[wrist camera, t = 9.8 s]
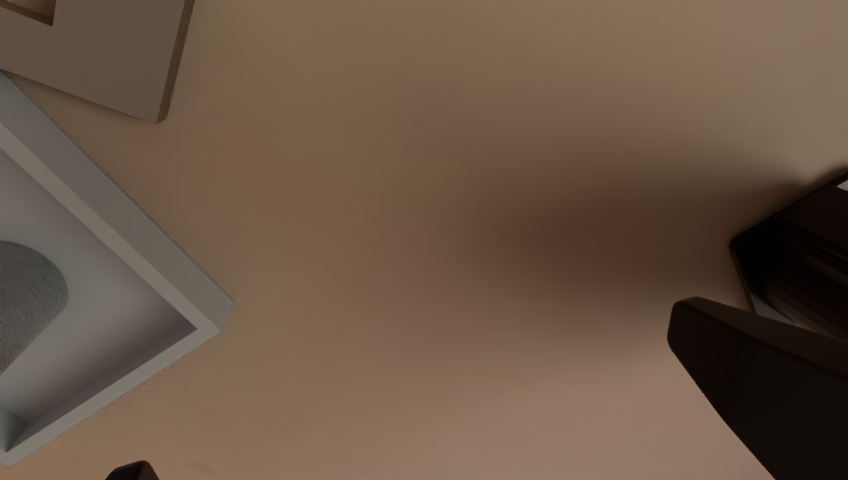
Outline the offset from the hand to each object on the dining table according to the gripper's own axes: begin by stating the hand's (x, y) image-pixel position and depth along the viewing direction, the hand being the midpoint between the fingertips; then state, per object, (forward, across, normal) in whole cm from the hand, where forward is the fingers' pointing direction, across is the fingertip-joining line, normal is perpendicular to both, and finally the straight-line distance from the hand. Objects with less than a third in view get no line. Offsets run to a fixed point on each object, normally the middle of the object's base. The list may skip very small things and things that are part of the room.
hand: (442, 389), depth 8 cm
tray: (+14, +12, +3) cm, 19 cm away
